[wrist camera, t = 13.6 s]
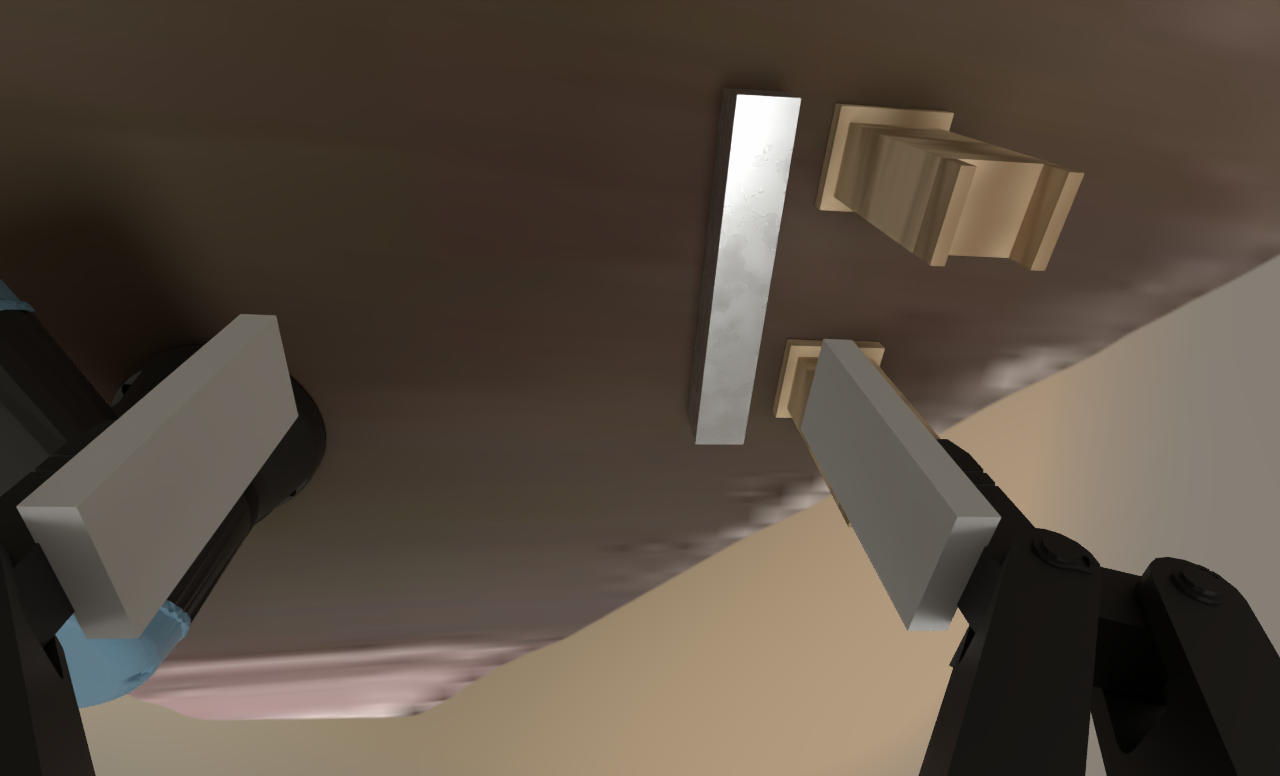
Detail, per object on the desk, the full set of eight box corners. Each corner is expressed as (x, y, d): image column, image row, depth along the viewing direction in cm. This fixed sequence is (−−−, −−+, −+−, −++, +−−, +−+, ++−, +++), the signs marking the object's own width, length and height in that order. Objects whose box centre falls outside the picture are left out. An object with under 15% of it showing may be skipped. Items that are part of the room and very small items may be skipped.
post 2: (814, 205, 47) (909, 283, 33) (835, 103, 43) (952, 142, 30) (916, 211, 48) (1051, 289, 34) (945, 111, 44) (1108, 152, 30)
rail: (686, 411, 56) (695, 444, 51) (722, 87, 43) (737, 94, 38) (731, 411, 56) (743, 444, 52) (779, 90, 43) (801, 97, 39)
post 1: (772, 410, 56) (833, 537, 42) (787, 339, 52) (859, 453, 39) (858, 411, 57) (946, 537, 43) (879, 342, 53) (981, 454, 39)
